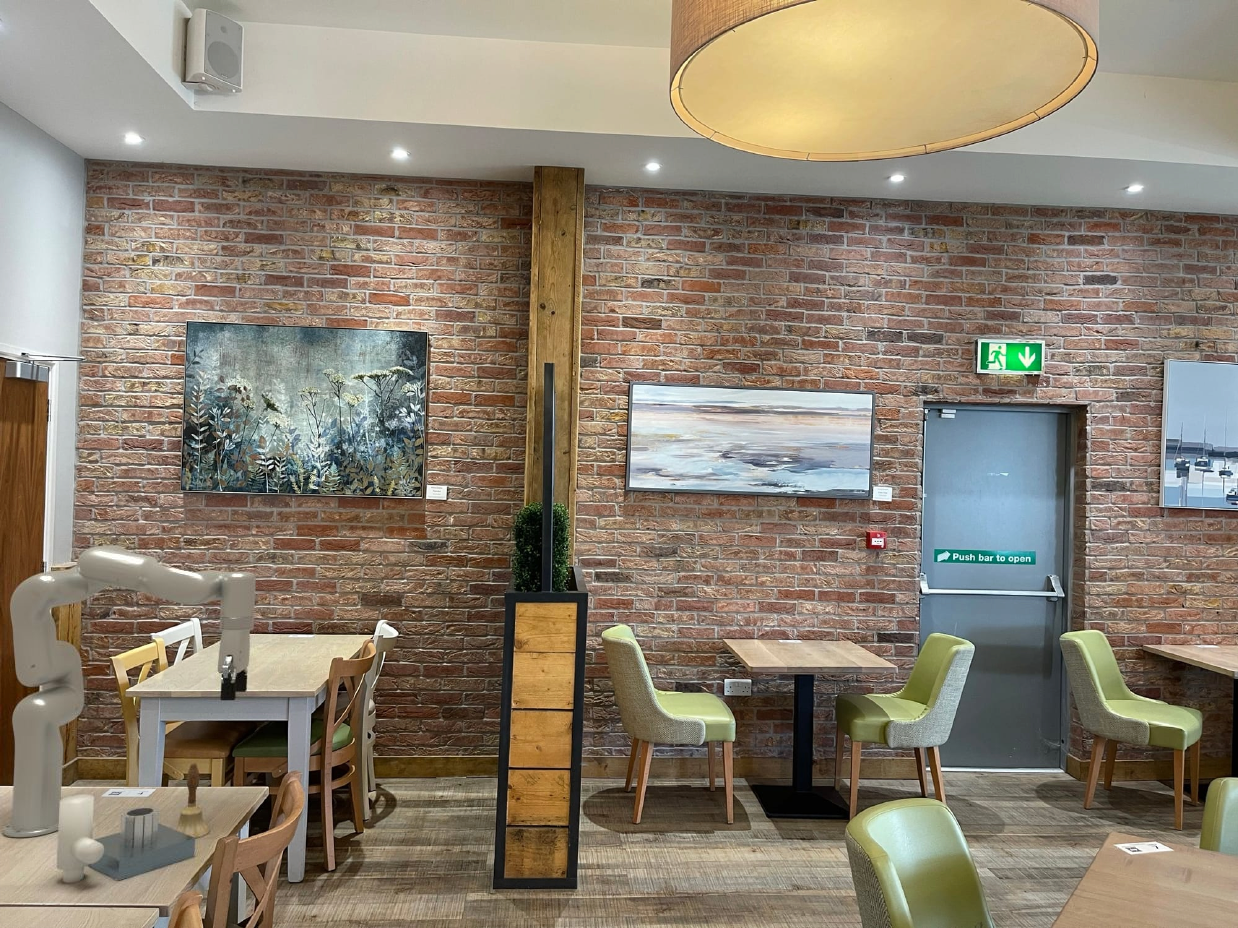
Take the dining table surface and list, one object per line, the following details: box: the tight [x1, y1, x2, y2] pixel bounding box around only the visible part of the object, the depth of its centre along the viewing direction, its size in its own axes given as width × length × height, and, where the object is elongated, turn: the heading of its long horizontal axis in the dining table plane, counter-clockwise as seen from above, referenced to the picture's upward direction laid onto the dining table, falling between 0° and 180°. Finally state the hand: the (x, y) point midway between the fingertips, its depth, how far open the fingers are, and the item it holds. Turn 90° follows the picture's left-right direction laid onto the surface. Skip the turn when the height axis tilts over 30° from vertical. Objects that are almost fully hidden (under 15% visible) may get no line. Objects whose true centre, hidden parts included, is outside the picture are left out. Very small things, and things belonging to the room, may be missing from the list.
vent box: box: [88, 806, 196, 882], centre depth 192 cm, size 16×16×10 cm
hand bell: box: [173, 763, 211, 839], centre depth 207 cm, size 8×8×16 cm
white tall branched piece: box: [56, 793, 104, 884], centre depth 180 cm, size 11×6×16 cm, turn 55°
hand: (233, 695), depth 213 cm, fingers open, 9 cm apart
